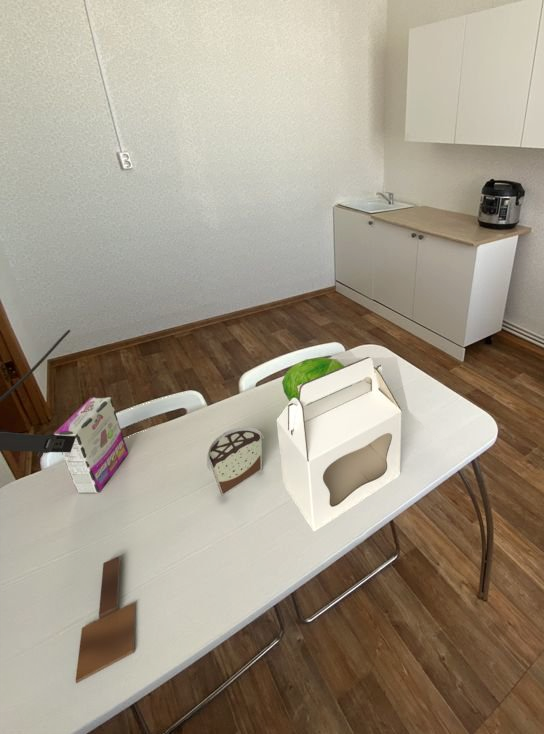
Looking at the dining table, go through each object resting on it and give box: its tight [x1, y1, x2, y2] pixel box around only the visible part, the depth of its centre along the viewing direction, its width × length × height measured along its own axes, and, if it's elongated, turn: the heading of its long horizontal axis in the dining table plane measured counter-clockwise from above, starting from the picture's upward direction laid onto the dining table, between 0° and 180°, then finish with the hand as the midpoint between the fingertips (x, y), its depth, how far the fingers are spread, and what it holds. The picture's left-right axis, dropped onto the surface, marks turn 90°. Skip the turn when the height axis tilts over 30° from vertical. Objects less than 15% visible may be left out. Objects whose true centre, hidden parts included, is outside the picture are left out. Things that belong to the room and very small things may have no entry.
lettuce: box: [281, 356, 353, 406], centre depth 103 cm, size 17×20×17 cm
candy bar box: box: [53, 396, 129, 494], centre depth 83 cm, size 11×5×16 cm, turn 179°
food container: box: [206, 426, 265, 497], centre depth 83 cm, size 12×6×10 cm, turn 135°
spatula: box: [75, 555, 136, 684], centre depth 60 cm, size 16×7×1 cm, turn 28°
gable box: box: [275, 356, 403, 532], centre depth 78 cm, size 22×13×28 cm, turn 126°
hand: (38, 441), depth 70 cm, fingers open, 13 cm apart
